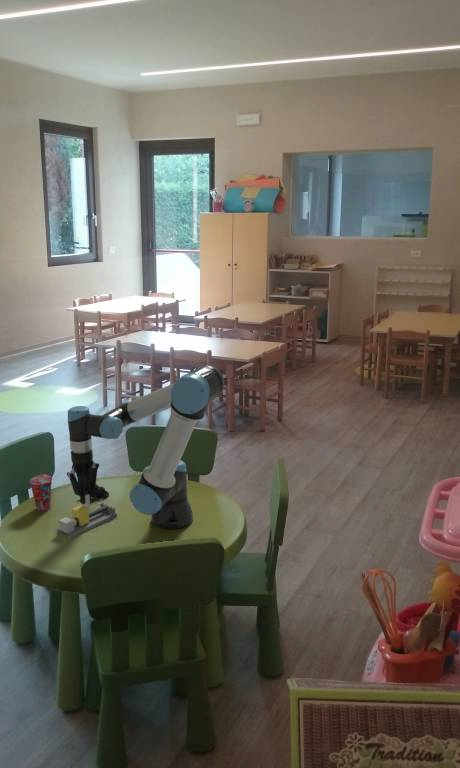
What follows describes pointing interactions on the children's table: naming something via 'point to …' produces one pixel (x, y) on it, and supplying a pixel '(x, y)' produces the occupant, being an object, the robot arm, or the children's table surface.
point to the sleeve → (81, 514)
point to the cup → (42, 491)
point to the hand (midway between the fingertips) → (86, 510)
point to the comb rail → (96, 518)
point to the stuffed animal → (99, 494)
